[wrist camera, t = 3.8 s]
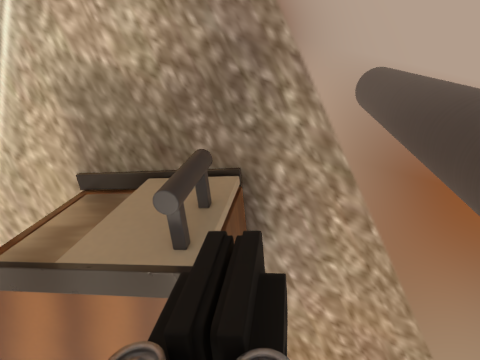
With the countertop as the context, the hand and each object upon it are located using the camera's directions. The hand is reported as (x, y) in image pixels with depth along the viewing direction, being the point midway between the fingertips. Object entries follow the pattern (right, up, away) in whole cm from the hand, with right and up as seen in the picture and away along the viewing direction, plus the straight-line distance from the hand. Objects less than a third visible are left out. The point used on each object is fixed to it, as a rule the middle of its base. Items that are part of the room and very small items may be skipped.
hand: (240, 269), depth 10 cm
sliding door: (-4, +5, +17) cm, 19 cm away
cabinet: (-7, -3, +22) cm, 23 cm away
